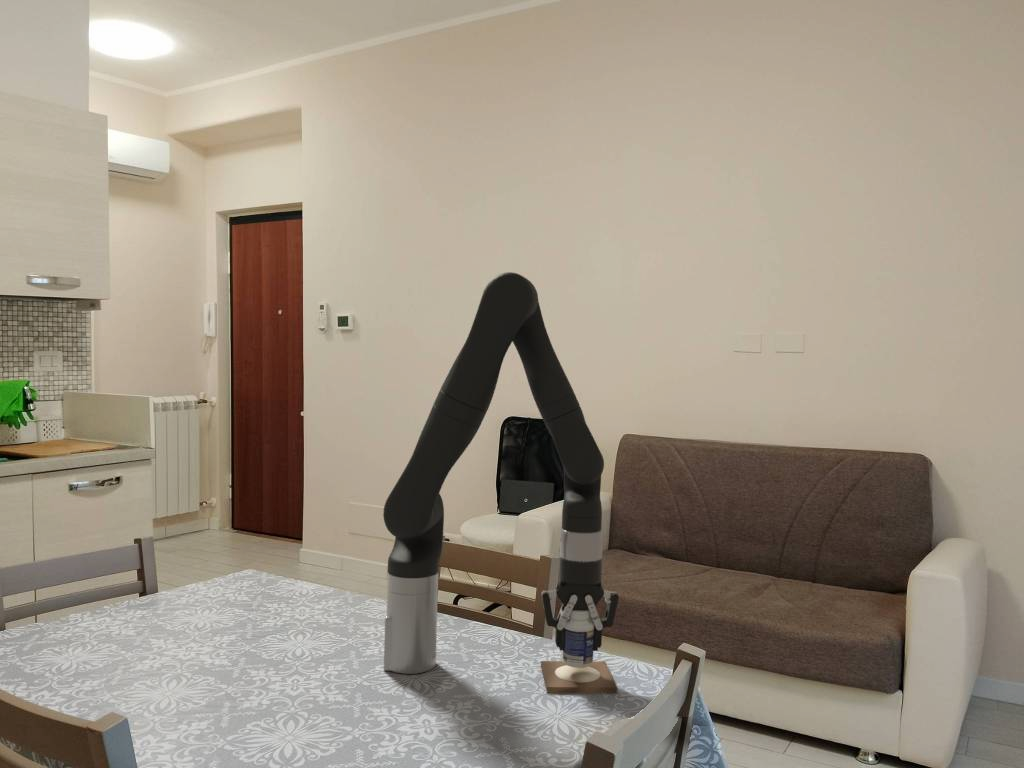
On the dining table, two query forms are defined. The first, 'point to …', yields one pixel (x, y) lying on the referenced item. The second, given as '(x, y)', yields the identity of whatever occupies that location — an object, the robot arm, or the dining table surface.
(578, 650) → the pill bottle
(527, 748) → the dining table surface
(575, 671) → the rest board
